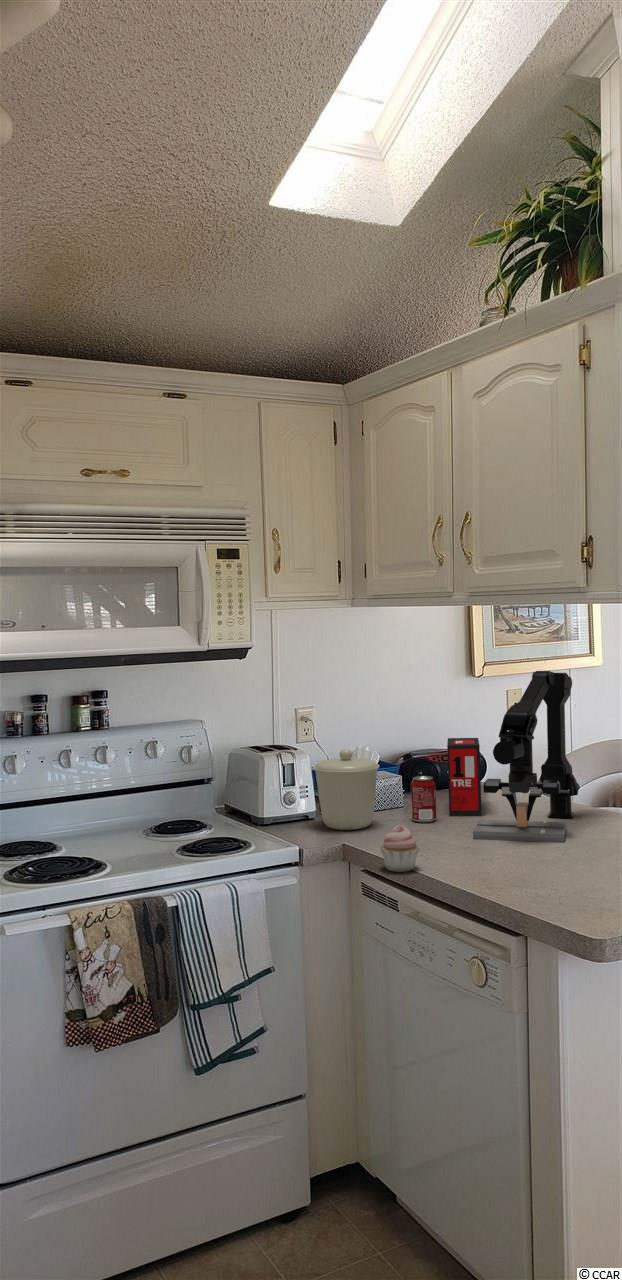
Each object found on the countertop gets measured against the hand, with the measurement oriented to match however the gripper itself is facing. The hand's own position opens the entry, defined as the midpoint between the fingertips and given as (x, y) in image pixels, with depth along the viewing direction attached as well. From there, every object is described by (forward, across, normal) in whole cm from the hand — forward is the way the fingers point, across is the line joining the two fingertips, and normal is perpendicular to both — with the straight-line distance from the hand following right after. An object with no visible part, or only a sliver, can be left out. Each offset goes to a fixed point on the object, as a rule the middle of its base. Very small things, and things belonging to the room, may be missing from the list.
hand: (522, 820), depth 238 cm
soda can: (+4, -28, +12) cm, 30 cm away
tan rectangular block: (+2, 0, 0) cm, 2 cm away
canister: (+4, -47, +2) cm, 47 cm away
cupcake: (+4, -23, -38) cm, 45 cm away
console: (+4, -1, 0) cm, 4 cm away
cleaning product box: (+4, -19, +28) cm, 34 cm away
